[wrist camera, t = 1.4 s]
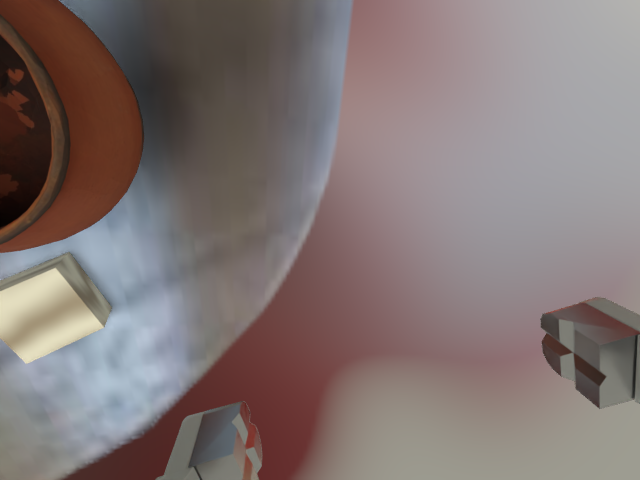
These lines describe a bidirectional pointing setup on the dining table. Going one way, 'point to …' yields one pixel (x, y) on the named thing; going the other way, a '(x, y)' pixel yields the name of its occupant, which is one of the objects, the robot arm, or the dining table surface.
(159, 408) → the dining table surface
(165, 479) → the robot arm
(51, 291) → the birch block
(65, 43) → the goblet
